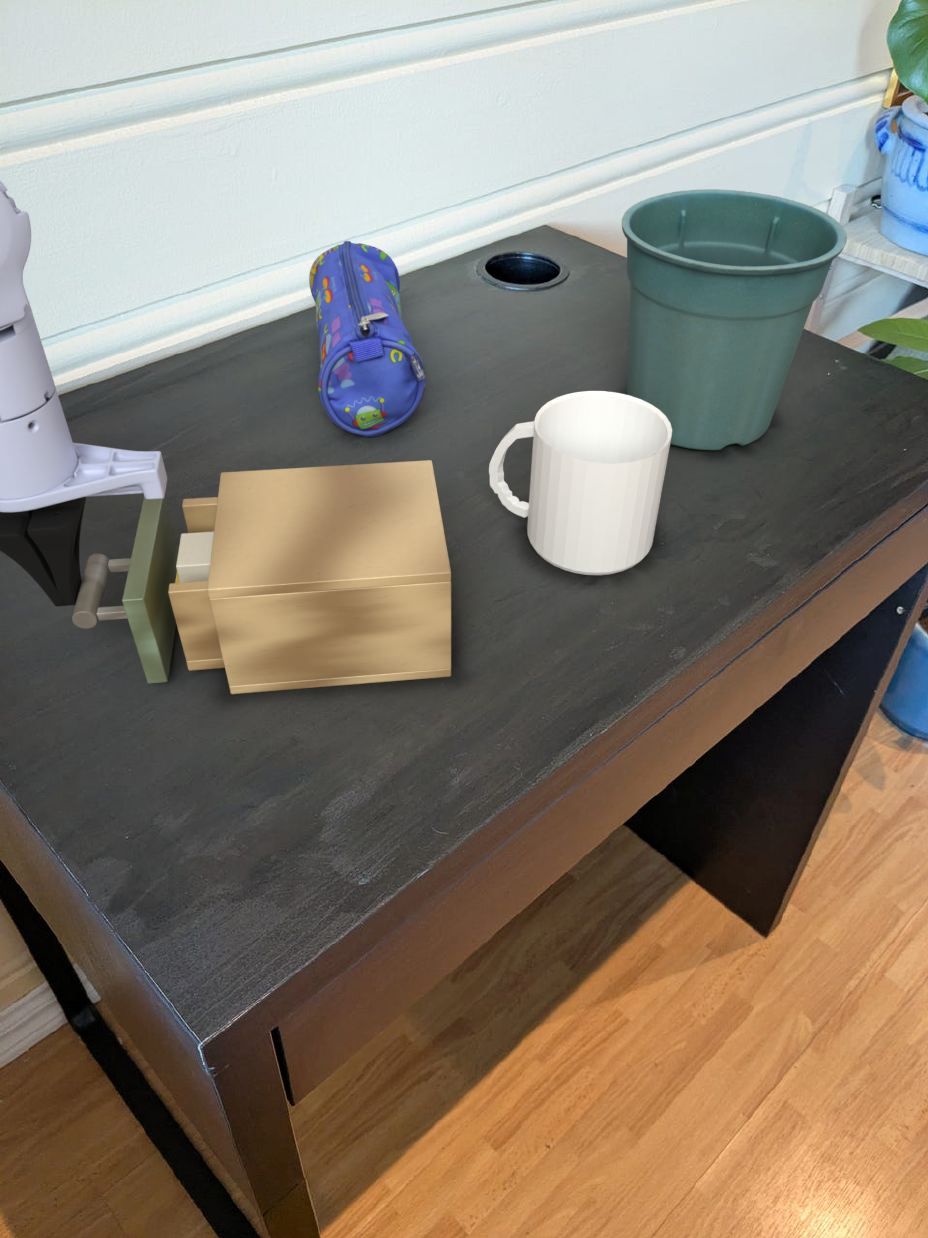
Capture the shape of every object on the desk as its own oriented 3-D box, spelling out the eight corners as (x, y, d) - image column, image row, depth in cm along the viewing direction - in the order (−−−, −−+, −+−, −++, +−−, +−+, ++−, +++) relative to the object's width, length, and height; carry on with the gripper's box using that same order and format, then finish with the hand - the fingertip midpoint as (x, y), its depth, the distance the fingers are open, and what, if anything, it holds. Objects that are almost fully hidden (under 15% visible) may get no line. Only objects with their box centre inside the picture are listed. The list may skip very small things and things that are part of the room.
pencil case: (429, 441, 79) (427, 332, 72) (324, 449, 78) (312, 339, 71) (400, 322, 95) (396, 223, 88) (312, 327, 94) (302, 228, 87)
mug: (670, 523, 71) (691, 412, 65) (623, 593, 65) (641, 478, 59) (525, 477, 75) (532, 368, 69) (468, 538, 69) (470, 426, 63)
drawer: (80, 689, 57) (48, 605, 52) (106, 579, 64) (80, 497, 60) (355, 667, 59) (347, 584, 54) (349, 562, 66) (342, 481, 61)
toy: (184, 633, 59) (167, 571, 56) (189, 591, 62) (174, 529, 59) (256, 628, 60) (244, 565, 56) (258, 586, 62) (247, 524, 59)
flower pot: (562, 395, 85) (579, 207, 74) (707, 352, 91) (741, 173, 80) (681, 489, 74) (721, 287, 63) (836, 434, 80) (896, 241, 69)
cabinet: (230, 694, 58) (206, 589, 52) (240, 574, 66) (220, 471, 61) (451, 677, 59) (451, 572, 54) (433, 560, 68) (431, 459, 62)
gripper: (150, 352, 53) (195, 546, 62) (-126, 366, 52) (-39, 561, 61) (134, 419, 48) (185, 619, 57) (-174, 436, 46) (-70, 638, 56)
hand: (68, 595), depth 59 cm, fingers closed
